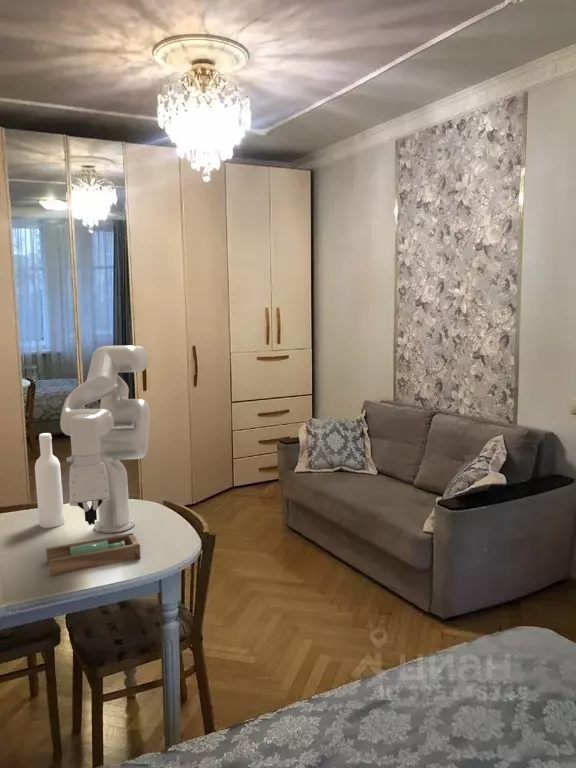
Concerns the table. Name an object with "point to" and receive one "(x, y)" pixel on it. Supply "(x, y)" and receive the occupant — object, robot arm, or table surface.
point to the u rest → (92, 555)
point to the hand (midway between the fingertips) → (91, 522)
